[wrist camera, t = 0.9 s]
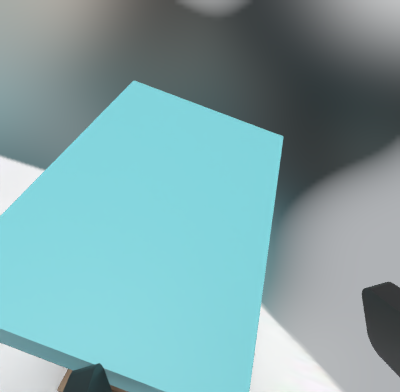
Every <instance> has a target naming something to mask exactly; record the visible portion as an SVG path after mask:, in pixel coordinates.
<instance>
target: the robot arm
mask: <svg viewBox="0 0 400 392" xmlns="http://www.w3.org/2000/svg"><path fill="white" fill-rule="evenodd" d="M362 299H363V306H364V313H365V319H366V326H367V333H368V337H369V339H370V342H371V344H372V346H373V348H374V349H375V351H376V352H377V354H378V355H379V356H380V357H381V358H382V359H383V360H384V361H385V362H386V363H387V364H388V365H389V366H390V367H391V369H392V370H393V371H394V372H395V373H396V374H397V375H398V376H399V377H400V288H399V287H398V286H396V285H395V284H393V283H391V282H385V283H382V284H378V285H375V286H372V287H368V288H365V289H363V291H362ZM63 392H112V390H111V387H110V384H109V381H108V379H107V376H106V373H105V370H104V368H103V366H102V365H101V364H100V363H98V364H94V365H91V366H87V367H84V368H80V369H77V370H73V371H72V372H71V374H70V376H69V378H68V381H67V383H66V385H65V388H64V390H63Z"/></svg>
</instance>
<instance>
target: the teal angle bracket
mask: <svg viewBox="0 0 400 392" xmlns="http://www.w3.org/2000/svg"><path fill="white" fill-rule="evenodd" d="M282 143H283V136H280V135H277V134H275V133H272V132H270V131H267V130H264V129H262V128H259V127H256V126H254V125H251V124H248V123H246V122H243V121H240V120H238V119H235V118H232V117H230V116H227V115H224V114H222V113H219V112H216V111H214V110H211V109H209V108H206V107H203V106H201V105H198V104H195V103H193V102H190V101H187V100H185V99H182V98H179V97H176V96H174V95H171V94H168V93H166V92H163V91H161V90H157V89H155V88H153V87H150V86H147V85H145V84H142V83H139V82H137V81H133V82H132V83H131V84H130V85H129V86H128V87H127V88H126V89H125V90H124V91H123V92H122V93H121V94H120V95H119V96H118V97H117V98H116V99H115V100H114V101H113V102H112V103H111V104H110V105H109V106H108V107H107V108H106V109H105V110H104V111H103V112H102V113H101V114H100V115H99V116H98V117H97V118H96V120H95V121H93V122H92V124H90V125H89V127H88V128H87V129H86V130H85V131H84V132H83V133H82V134H81V135H80V136H79V137H78V138H77V139H76V140H75V141H74V142H73V143H72V144H71V145H70V146H69V147H68V148H67V149H66V150H65V151H64V152H63V153H62V154H61V155H60V156H59V157H58V158H57V159H56V160H55V161H54V162H53V163H52V164H51V165H50V166H49V167H48V168H47V169H46V170H45V171H44V172H43V173H42V174H41V175H40V176H39V177H38V178H37V179H36V180H35V181H34V182H33V183H32V184H31V185H30V186H29V187H28V189H27V190H26V191H25V192H24V193H23V194H22V195H21V196H20V197H19V198H18V199H17V200H16V201H15V202H14V203H13V204H12V205H11V206H10V207H9V208H8V209H7V210H6V211H5V212H4V213H3V214H2V215H1V216H0V343H3V344H5V345H8V346H11V347H13V348H16V349H18V350H21V351H24V352H26V353H29V354H31V355H34V356H37V357H39V358H42V359H44V360H47V361H50V362H52V363H55V364H58V365H60V366H63V367H65V368H68V369H71V370H77V369H80V368H84V367H87V366H91V365H94V364H98V363H100V364H101V365H102V366H103V368H104V370H105V373H106V376H107V379H108V381H109V384H110V385H112V386H115V387H118V388H120V389H123V390H125V391H128V392H249V389H250V382H251V375H252V367H253V360H254V352H255V345H256V337H257V330H258V322H259V315H260V307H261V299H262V292H263V285H264V277H265V270H266V262H267V255H268V248H269V240H270V232H271V224H272V218H273V210H274V203H275V195H276V188H277V180H278V172H279V165H280V158H281V150H282Z"/></svg>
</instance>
